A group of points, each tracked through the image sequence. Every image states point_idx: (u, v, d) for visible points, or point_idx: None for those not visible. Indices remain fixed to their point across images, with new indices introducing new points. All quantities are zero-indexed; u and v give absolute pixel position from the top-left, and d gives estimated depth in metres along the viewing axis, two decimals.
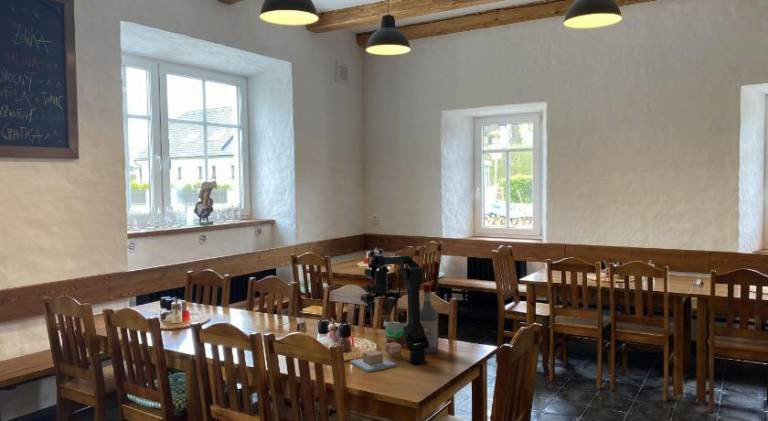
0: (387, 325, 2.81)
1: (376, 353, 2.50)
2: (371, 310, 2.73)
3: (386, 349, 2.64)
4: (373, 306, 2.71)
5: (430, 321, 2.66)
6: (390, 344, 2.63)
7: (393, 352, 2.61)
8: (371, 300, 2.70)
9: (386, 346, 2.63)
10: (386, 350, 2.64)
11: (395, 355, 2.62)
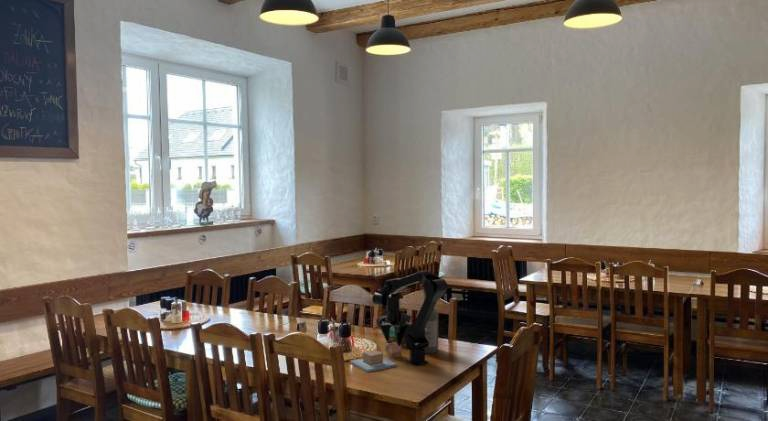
0: None
1: (376, 353, 2.50)
2: None
3: (386, 349, 2.64)
4: (381, 329, 2.67)
5: (430, 321, 2.66)
6: (390, 344, 2.63)
7: (393, 352, 2.61)
8: (378, 322, 2.67)
9: (386, 346, 2.63)
10: (386, 350, 2.64)
11: (395, 355, 2.62)
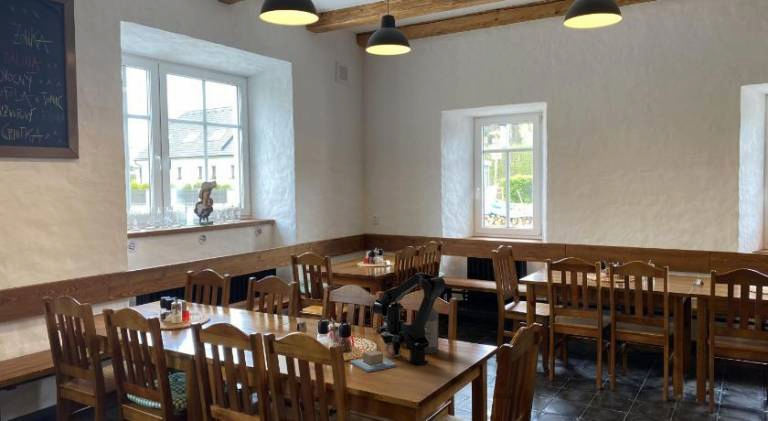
0: None
1: (376, 353, 2.50)
2: None
3: (386, 349, 2.64)
4: (384, 340, 2.65)
5: (430, 321, 2.66)
6: (390, 344, 2.63)
7: (393, 351, 2.61)
8: (378, 332, 2.68)
9: (386, 346, 2.63)
10: (386, 350, 2.64)
11: (395, 355, 2.61)
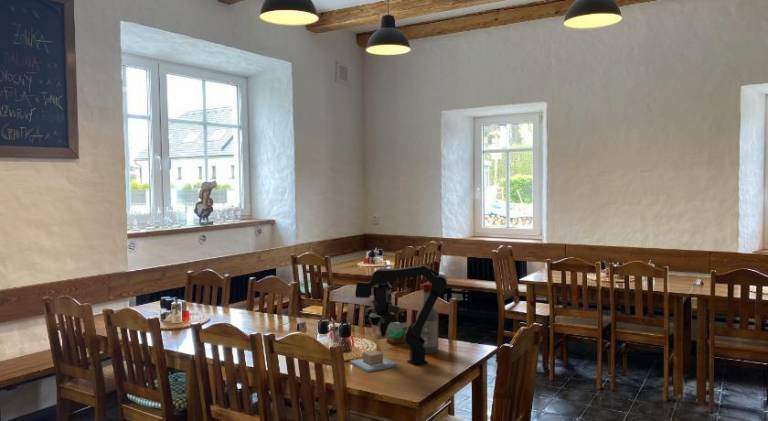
0: None
1: (376, 353, 2.50)
2: None
3: (373, 331, 2.56)
4: (371, 322, 2.57)
5: (430, 321, 2.66)
6: (377, 325, 2.55)
7: (380, 333, 2.53)
8: (365, 313, 2.60)
9: (373, 327, 2.55)
10: (373, 331, 2.56)
11: (382, 337, 2.53)
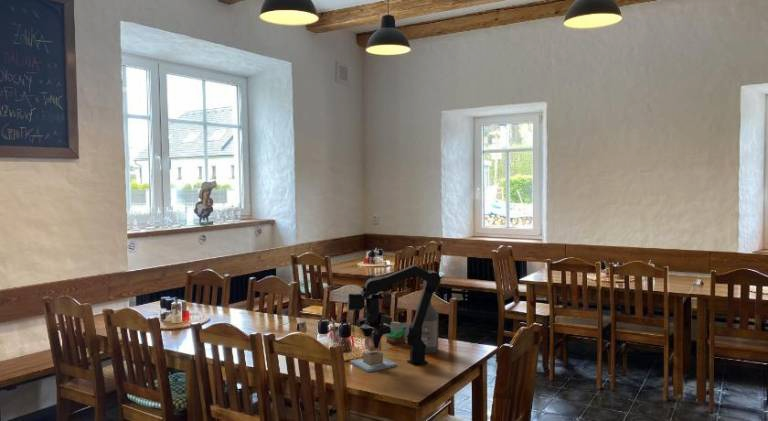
0: (387, 325, 2.81)
1: (376, 353, 2.50)
2: None
3: (365, 342, 2.51)
4: (363, 333, 2.52)
5: (430, 321, 2.66)
6: (370, 337, 2.50)
7: (373, 345, 2.48)
8: (357, 324, 2.55)
9: (366, 339, 2.51)
10: (366, 343, 2.51)
11: (375, 348, 2.49)
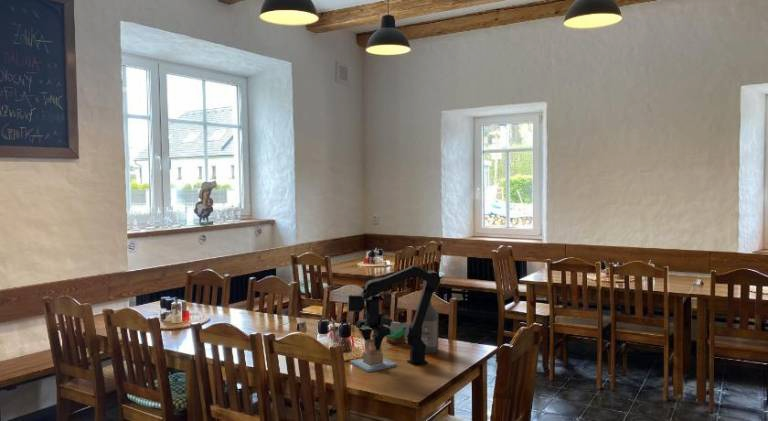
0: None
1: None
2: None
3: (365, 346, 2.51)
4: (362, 334, 2.53)
5: (430, 321, 2.66)
6: (370, 341, 2.51)
7: (373, 349, 2.48)
8: (357, 326, 2.55)
9: (366, 343, 2.51)
10: (366, 347, 2.51)
11: (375, 352, 2.49)
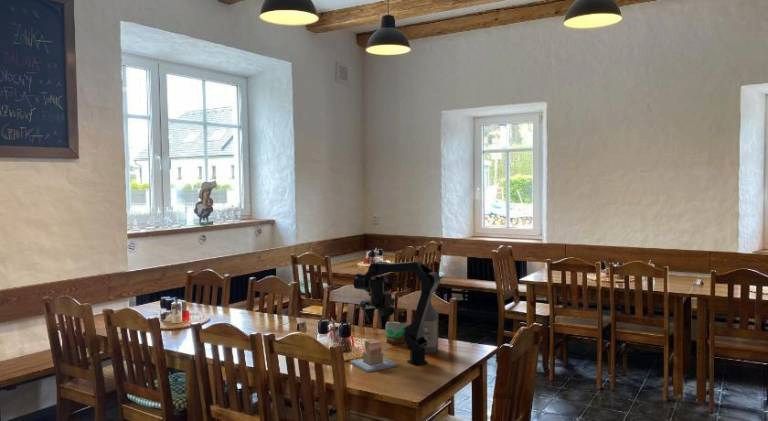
0: (387, 325, 2.81)
1: None
2: None
3: (365, 346, 2.51)
4: (365, 313, 2.64)
5: (430, 321, 2.66)
6: (370, 341, 2.51)
7: (373, 349, 2.48)
8: (362, 306, 2.65)
9: (366, 343, 2.51)
10: (366, 347, 2.51)
11: (375, 352, 2.49)
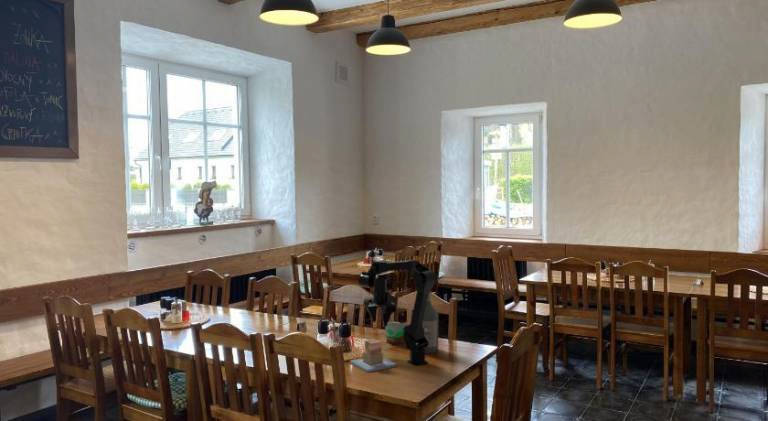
0: (387, 325, 2.81)
1: None
2: None
3: (365, 346, 2.51)
4: (368, 311, 2.70)
5: (430, 321, 2.66)
6: (370, 341, 2.51)
7: (373, 349, 2.48)
8: (365, 304, 2.70)
9: (366, 343, 2.51)
10: (366, 347, 2.51)
11: (375, 352, 2.49)
